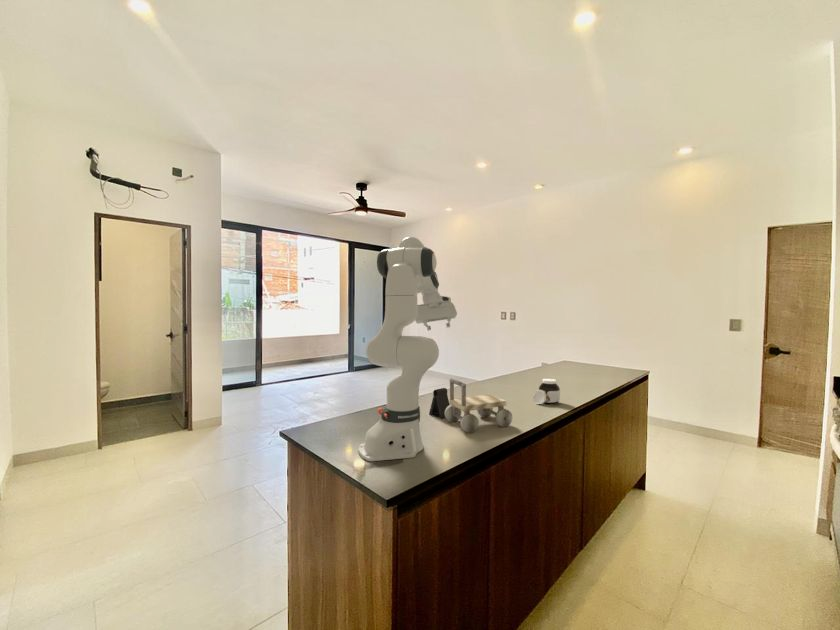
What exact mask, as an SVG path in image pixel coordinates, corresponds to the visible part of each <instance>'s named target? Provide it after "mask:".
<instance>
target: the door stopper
mask: <svg viewBox="0 0 840 630" xmlns="http://www.w3.org/2000/svg"><path fill="white" fill-rule="evenodd" d="M432 394H433V397H432V400H431V404H430V409H429V411H428V412H429V413H428V414H429V415H430V416H433V417H436V418H438V419H442V420H443V419H446V418H445V415H444V413H445V409H446V408H447V407H448V406H449V405H451V404H450V399H449V396H448V389H447V387H443V388H442V387H441V388H437V389H434V390H433V393H432Z"/></svg>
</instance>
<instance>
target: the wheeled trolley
mask: <svg viewBox="0 0 840 630" xmlns="http://www.w3.org/2000/svg"><path fill="white" fill-rule="evenodd" d="M455 385H456V386H459V387H460V388H461V397H459V398H458V397H456V398H455ZM466 395H467V384H466V383H464V382H461V381H459V380H456V379H454V378H450V379H449V404H450V405H449V406H448V407H447V408H446V409H445V413H444V415H445V418H444V419H446V420H447V421H448V422H449V423H456V422H457V421H459V420H460V428H461V429H462V430H463V431H465V432H466V433H468V434H473V433H474V432H476V430H477V429H478V427H479V425H480V424H479V419H478V417H477V416H476V415H474V414H473V413H471V411H477V414H478V415H479V416H480V417H482V418H488V417H490V416H491V415H494V416H495V417H494V420H495V422H496V424H497V425H498V426H500V427H502V428H507V427H508V426H510V425H511V424H512V421H513V413H512V412H511V411H510V410H508V409H506V408H505V406H507V400H505V399H503V398H500V397H498V396H496V395H493V394H483V395H472V396H466ZM494 408H497V411H494ZM462 412H463V413H464V414H463V416H462Z"/></svg>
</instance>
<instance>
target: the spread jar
mask: <svg viewBox="0 0 840 630" xmlns="http://www.w3.org/2000/svg"><path fill="white" fill-rule="evenodd" d="M541 380H542V381H541V384H539V387H538V390H536V391H535V392H534V393H533V395H532V401H533V402H534V403H535V404H536V405H539V404H541V405H543V404H544V403H545V405H549V404H554V405H557V404H558V403H559V402H560V400H561V388H560V387H559V385H558V384H557V383H558V382H557V379H553V378H542V379H541Z"/></svg>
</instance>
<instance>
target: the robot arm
mask: <svg viewBox="0 0 840 630" xmlns="http://www.w3.org/2000/svg"><path fill="white" fill-rule="evenodd" d="M376 267H377V271H378V273H379V274H380V275H381V277H383V278H384V279H385V281H386V282H385V293H384V294H385V302H384V303H385V306H384V309H385V310H384V319H383V323H382V325H381V328H380V329H379V331H378V332H377V333H376V335H374V337H372V338H371V339H370V340H369V341H368V343H367V346H366V349H365V350H366V351H365V353H366V358H367V359H368V361H369V362H370V364H372V365H375V366H379V367H383V368H401V375H399V376H397V377H395V378H393V379H392V380H390V381H389V383H388V384H387V386H386V406H385V408H382V407H378V408H377V410H376V411H377V413H378V415H380V416H381V418H380V419H379V420H378V421H377V422H376V423H375V424H373V425H372V426H371V427H370V428H369V429H368V430H367V431H366V434H365V437H364V442H363V443H360V444H359V445H358V449H357V452H358V454H359V455H360V458H362V459H364V460H366V461H368V462H376V461H377V462H379V461H388V460H389V461H390V460H400V459H411V458H415V457H416V456H417V454H418V453H419V452H421V451H423V449H424V443H423V440H422V434H421V429H420V421H421V409H420V406H419V393H420V384H421V380H422V379H423V377H424V375H425V373H427V371H429V369H430V368H432V367H434V365H435V364H436V363H437V361H438V360H439V355H440V349H439V345H438V343H437V342H436V341H435V339H433V338H431V337H430V338H429V337H426V336H421V335H403V330H404V328H405V327H407V326H409V325H411V324H413V323H414V322H415V323H416V324H423V326H425V327H426V329H427V331H431V330H432V327H431V325H429V324H428V323H430V322H439V321H445V320H446V321H447V323H446V324H445V326H446V328H450V327H451V324H450V322H451V319H456V317H457V315H458V311H457V308H456V306H455V305H454V303H453V302H452V298H451V297H449V296H446V295H445V296H444V295H441V294H440V293H439V286H440V283H439V279H438V275H437V272H435V271H436V269H437V256H436V255H435V252H434V251H433V250H432V249H431V248H430V247H429V248H428V247H426V246H425V245H424V243H423V242H422V241H421V240H420V239H418V238H417V237H415V236H408V237H407V236H406V237H405V238H403V239H402V240H401V241H400V243H399V244H398V247H396V248H385V249H382V250H381V251H379V252H378V254H377V257H376ZM418 294H421V295H422V298H421V299H422V303H421V304H418Z"/></svg>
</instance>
